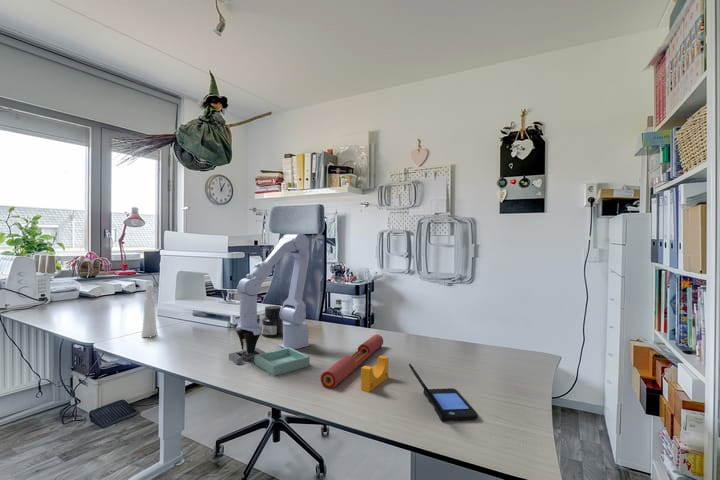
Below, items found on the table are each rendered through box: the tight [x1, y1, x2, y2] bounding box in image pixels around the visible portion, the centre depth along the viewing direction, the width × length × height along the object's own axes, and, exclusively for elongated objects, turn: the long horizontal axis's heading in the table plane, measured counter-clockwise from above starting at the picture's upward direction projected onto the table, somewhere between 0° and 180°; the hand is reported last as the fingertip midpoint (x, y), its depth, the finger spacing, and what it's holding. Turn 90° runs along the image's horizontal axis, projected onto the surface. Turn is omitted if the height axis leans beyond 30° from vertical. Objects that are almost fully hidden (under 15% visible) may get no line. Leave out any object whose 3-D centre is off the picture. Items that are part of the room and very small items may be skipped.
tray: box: [254, 347, 311, 377], centre depth 115 cm, size 13×13×3 cm
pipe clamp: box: [360, 355, 389, 393], centre depth 102 cm, size 12×4×6 cm, turn 149°
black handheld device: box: [408, 363, 479, 423], centre depth 88 cm, size 16×14×9 cm
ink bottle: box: [261, 305, 283, 338], centre depth 151 cm, size 10×9×12 cm
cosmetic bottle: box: [140, 283, 158, 338], centre depth 148 cm, size 6×6×22 cm
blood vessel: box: [320, 333, 384, 389], centre depth 118 cm, size 42×5×5 cm, turn 158°
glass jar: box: [241, 338, 255, 362], centre depth 121 cm, size 4×4×7 cm
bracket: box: [228, 347, 266, 365], centre depth 122 cm, size 10×7×2 cm
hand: (248, 351), depth 121 cm, fingers open, 4 cm apart
